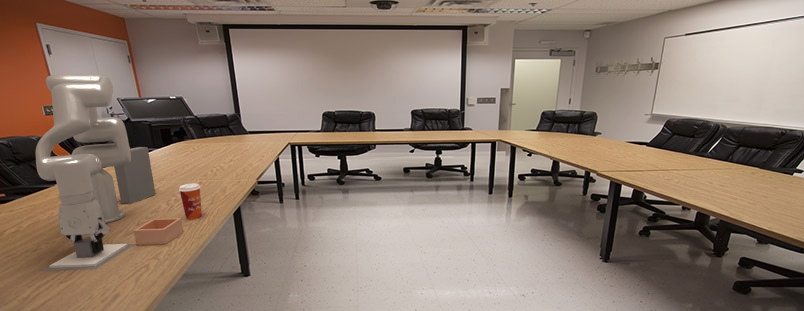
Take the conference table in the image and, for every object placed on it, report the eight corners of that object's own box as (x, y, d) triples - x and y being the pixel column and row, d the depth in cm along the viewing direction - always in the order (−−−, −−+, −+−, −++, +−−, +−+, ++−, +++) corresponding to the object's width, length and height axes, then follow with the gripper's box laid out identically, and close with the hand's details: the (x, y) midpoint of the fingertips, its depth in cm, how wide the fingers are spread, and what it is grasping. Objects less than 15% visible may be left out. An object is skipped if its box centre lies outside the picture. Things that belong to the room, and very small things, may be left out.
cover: (49, 268, 98) (45, 250, 96) (87, 247, 110) (84, 231, 109) (94, 266, 98) (91, 248, 97) (127, 245, 111) (124, 230, 110)
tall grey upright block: (145, 194, 168) (137, 147, 162) (156, 194, 167) (148, 147, 162) (119, 203, 154) (109, 152, 149) (130, 204, 153) (121, 152, 148)
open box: (136, 246, 112) (133, 230, 111) (156, 233, 122) (153, 218, 120) (166, 245, 112) (163, 229, 111) (183, 232, 122) (181, 218, 121)
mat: (39, 272, 96) (39, 270, 96) (87, 246, 112) (87, 245, 112) (96, 270, 97) (95, 268, 97) (135, 245, 113) (135, 243, 113)
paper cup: (194, 221, 133) (189, 188, 130) (178, 219, 134) (173, 187, 132) (208, 214, 140) (204, 183, 138) (193, 212, 142) (189, 182, 139)
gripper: (36, 203, 96) (50, 258, 100) (96, 201, 97) (108, 256, 101) (61, 194, 103) (73, 247, 107) (116, 193, 104) (126, 245, 108)
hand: (90, 251), depth 104 cm, fingers closed on cover, 4 cm apart
